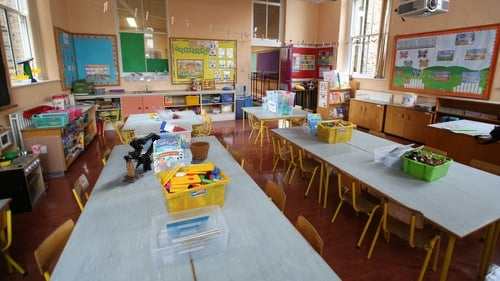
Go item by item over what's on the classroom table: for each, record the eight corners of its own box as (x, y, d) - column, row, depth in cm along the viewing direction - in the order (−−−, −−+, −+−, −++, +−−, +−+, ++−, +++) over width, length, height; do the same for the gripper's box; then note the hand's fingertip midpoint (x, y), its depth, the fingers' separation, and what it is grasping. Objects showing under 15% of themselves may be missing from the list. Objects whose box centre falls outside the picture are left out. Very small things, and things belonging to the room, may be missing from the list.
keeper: (132, 174, 249) (132, 170, 248) (143, 175, 246) (143, 171, 245) (122, 181, 235) (121, 176, 234) (133, 182, 233) (132, 177, 232)
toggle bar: (131, 177, 241) (128, 160, 237) (135, 177, 240) (133, 160, 236) (128, 178, 238) (125, 161, 233) (132, 179, 237) (130, 161, 232)
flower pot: (190, 154, 301) (190, 141, 297) (210, 153, 303) (210, 140, 299) (189, 161, 281) (187, 147, 277) (210, 160, 283) (209, 146, 279)
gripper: (123, 146, 240) (116, 163, 233) (142, 147, 236) (136, 164, 229) (130, 152, 250) (123, 168, 242) (148, 153, 245) (142, 170, 238)
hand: (131, 167), depth 238 cm, fingers open, 9 cm apart
